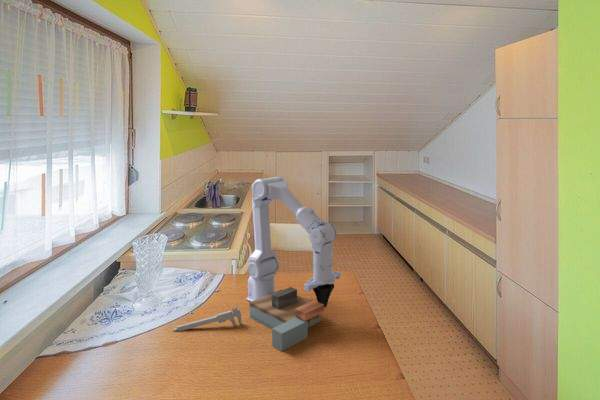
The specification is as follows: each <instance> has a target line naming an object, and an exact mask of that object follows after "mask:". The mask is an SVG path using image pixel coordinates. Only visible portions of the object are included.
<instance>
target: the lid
mask: <svg viewBox="0 0 600 400" xmlns="http://www.w3.org/2000/svg"><path fill="white" fill-rule="evenodd" d="M310 302H312V301H311V300H308V299H306V298H304V297H301V296H299V295H298V289H297V288H294V287H292V286H289V287H287V288H286V287H285V288H284V289H278V290H277V291H275V292H274V293H271V294H269V295H266V296H264V297H261V298H259V299H256V300H253V301H249V307H250V306H251V307H253V308H255V309H257V310H259V311H261V312H263V313H265V314H267V315H269V316H271V317H273V318H275V319H277V320H279V321H281V322H283V323H285V322H287V321H289V320H291V319H293V318H295V309H296V308H298V307H301V306H303V305H305V304H307V303H310ZM318 319H319V315H317V316H315V317H313V318H311V319H309V320H307V321H308V323H312V322H314V321H316V320H318Z"/></svg>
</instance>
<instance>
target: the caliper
mask: <svg viewBox="0 0 600 400" xmlns="http://www.w3.org/2000/svg"><path fill="white" fill-rule="evenodd" d="M231 309H232V310H229V311H224V312H221V313H217V314H216V315H214V316H211V317H207V318H203V319H198V320H195V321H190V322H187V323H184V324H180V325H177V326H176V327H174V328H172V329H173V330H172V332H176V331H177V332H181V331H186V330H187V331H188V330H190V329H194V328H197V327H200V326H201V327H202V326H205V325H209V324H213V323H216V322H217V323H218V324H221V323H225V322H227V320H228V321H230V322H231V324H232V325H233V327H236V320H235V317H236V319H237V321H238V325H239V326H241V325H242V313H241V310H240V309H239V308H237V306H235V307H233V306H232V307H231Z"/></svg>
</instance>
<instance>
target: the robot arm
mask: <svg viewBox="0 0 600 400" xmlns="http://www.w3.org/2000/svg"><path fill="white" fill-rule="evenodd" d="M251 195H252V196H251V206H252V218H253V224H252V225H253V235H254V251H253V252H252V253H251V254H250V255H249V258H248V260H249V261H248V266H247V272H248V275H249V277H248V280H247V297H246V298H245V300H247V301H249V302H251V301H253V300H256V299H259V298H261V297H264V296H266V295H269V294H271V293H274V292H276V291H275V290H276V289H275V276H276V275H277V272H278V271H279V269H280V262H279V260H278V258H277V252H276V251H274V250H273V249H272V241H271V228H270V227H271V225H270V207H269V205H270V204H271V202H273V200H279V201H281V203H282V204H284V205H285V206H286V207H287V208H288V209H289V210H290V211H291V212H292V213H294V214H295V221H296V222H297V223H298V224H299V225H300V226H301V227H302V228H303V229H304V230H305V232H307V233H308V239H309V241H310V243H311V249H312V251H313V252H312V253H313V254H312V255H313V256H312V265H313V266H312V267H313V271H312V273H313V274H312V275H313V276H312V277H311V278H310V279H308V281H306V282H304V283H303V290H304V291H306V292H307V293H309V292H311V291H313V292H314V294H315V297H316V299H317V302H319V303H322V304H324V309H325V308H327V307H328V304H329V303H328V302H329V299H330V296H331V294H332V292H333V290H334V289H335V280H340V279H341V272H339V271H338V270H337V271H336V270H334V271H333V245H334V244H333V242H334V241H335V240H336V239H337V230H336V227H335V226H334V224H333V223H332V222H326V221H325V220H324V219H322V218H321V217H320V216H319V215H318V214H317V213H316V212H315V210H314V209H313V208H312V207H309V206H304V205H303V204H302V203H301V202H300V200H299V199H298V197H296V195H295V194H294V193H293V192H292V191H291V190H290V189H289V184H288V182H287V181H286V180H284V178H283V177H281V176H273V177H268V178H267V177H266V178H258V179H256V180H255V181H254V182H253V183H252V184H251Z"/></svg>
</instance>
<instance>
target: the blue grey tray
mask: <svg viewBox="0 0 600 400" xmlns="http://www.w3.org/2000/svg"><path fill="white" fill-rule="evenodd" d="M249 318H250V319H252V320H254V321H256V322H258V323H260V324H262V325H264V326H265V327H267V328H269V329H271V342H272V343H271V346H272V347H274V348H276V349H277V350H279V351H280V352H284V351H285V350H287V349H289V348H291V347H292V346H295V345H297V344H298V343H301V342H303V341H304V340H306V339H308V337H309V336H308V335H309V333H308V332H309V331H308V330H309V329H308V328H310V327H312V326H314V325H316V324H317V323H320V322H322V313H321V314H319V319H318V320H316V321H314V322H312V323H308V321H304V320H302V319H299V318H297V317H295V318H293V319H291V320H289V321H287V322H285V323H283V322H281V321H279V320H277V319H275V318H273V317H271V316H269V315H267V314H265V313H263V312H261V311H259V310H257V309H255V308H253V307H251V306H250V305H249Z"/></svg>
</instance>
